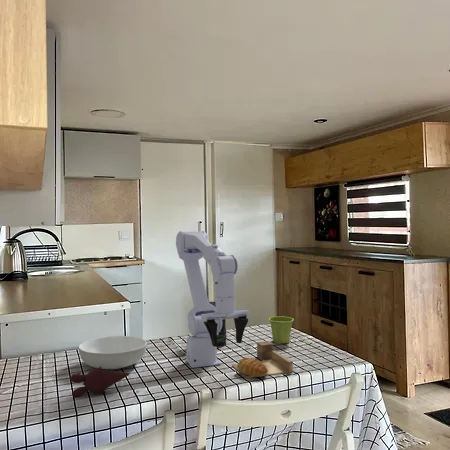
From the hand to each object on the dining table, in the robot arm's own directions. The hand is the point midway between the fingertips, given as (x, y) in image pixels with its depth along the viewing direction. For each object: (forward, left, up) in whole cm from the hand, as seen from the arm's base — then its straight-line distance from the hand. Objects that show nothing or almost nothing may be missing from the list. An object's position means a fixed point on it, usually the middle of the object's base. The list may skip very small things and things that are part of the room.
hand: (226, 344), depth 126 cm
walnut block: (+18, +13, -10) cm, 24 cm away
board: (+12, +4, -10) cm, 16 cm away
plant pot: (+32, +29, -10) cm, 44 cm away
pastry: (+8, 0, -9) cm, 12 cm away
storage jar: (+7, +35, -10) cm, 37 cm away
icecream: (-35, +1, -10) cm, 37 cm away
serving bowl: (-30, +23, -10) cm, 39 cm away
